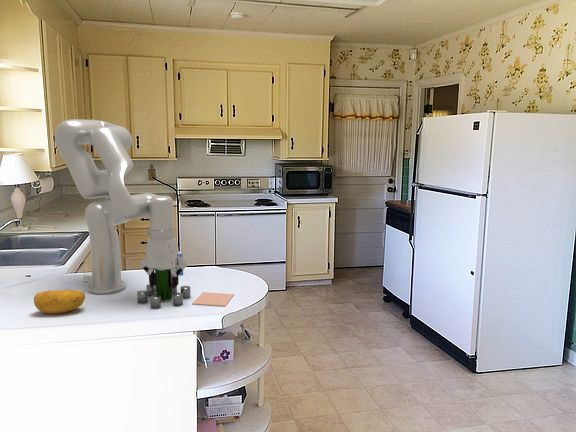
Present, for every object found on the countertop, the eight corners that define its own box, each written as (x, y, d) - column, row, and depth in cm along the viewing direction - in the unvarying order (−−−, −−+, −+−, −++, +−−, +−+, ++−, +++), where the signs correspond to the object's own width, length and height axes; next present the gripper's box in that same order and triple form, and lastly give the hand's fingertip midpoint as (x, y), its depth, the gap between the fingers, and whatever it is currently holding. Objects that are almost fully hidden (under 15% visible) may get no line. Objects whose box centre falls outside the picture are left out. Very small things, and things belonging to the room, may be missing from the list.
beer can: (159, 303, 157) (157, 268, 155) (153, 298, 162) (152, 264, 160) (175, 300, 160) (174, 265, 158) (169, 296, 165) (168, 261, 163)
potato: (82, 315, 147) (81, 293, 146) (31, 318, 145) (29, 295, 143) (87, 306, 154) (86, 285, 153) (39, 309, 152) (37, 287, 150)
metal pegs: (130, 307, 154) (130, 297, 153) (153, 289, 171) (152, 280, 170) (177, 310, 152) (176, 300, 151) (195, 292, 168) (194, 282, 168)
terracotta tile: (192, 304, 157) (192, 303, 157) (202, 293, 168) (202, 292, 168) (225, 306, 156) (225, 305, 156) (233, 295, 166) (233, 294, 166)
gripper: (131, 235, 155) (134, 288, 158) (183, 237, 152) (185, 291, 155) (141, 230, 162) (144, 281, 165) (191, 232, 160) (193, 284, 163)
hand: (164, 286), depth 160 cm, fingers open, 6 cm apart
